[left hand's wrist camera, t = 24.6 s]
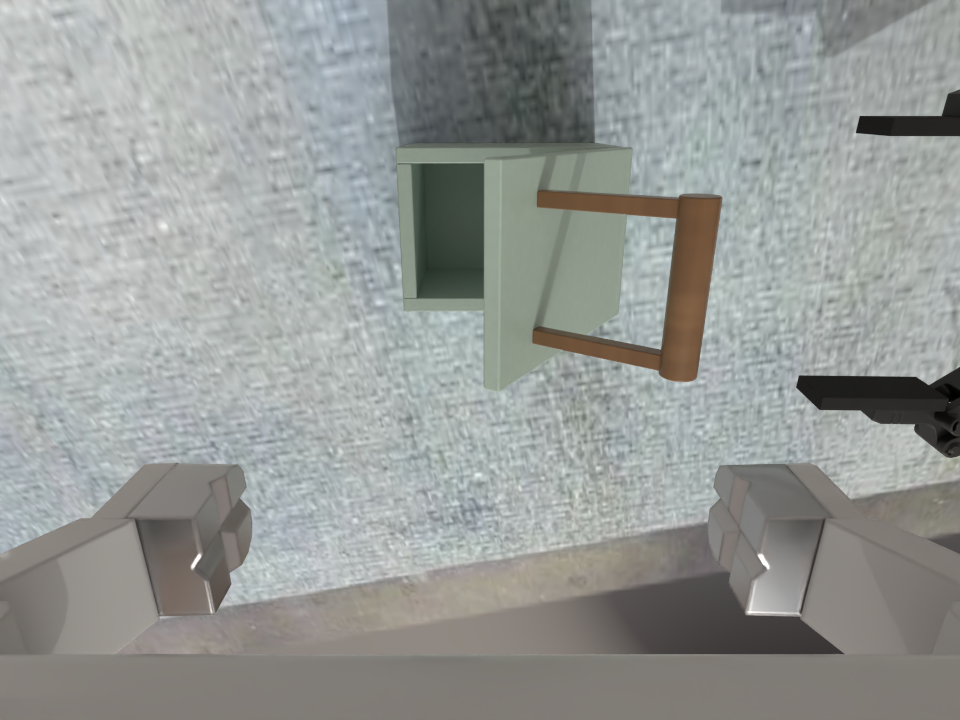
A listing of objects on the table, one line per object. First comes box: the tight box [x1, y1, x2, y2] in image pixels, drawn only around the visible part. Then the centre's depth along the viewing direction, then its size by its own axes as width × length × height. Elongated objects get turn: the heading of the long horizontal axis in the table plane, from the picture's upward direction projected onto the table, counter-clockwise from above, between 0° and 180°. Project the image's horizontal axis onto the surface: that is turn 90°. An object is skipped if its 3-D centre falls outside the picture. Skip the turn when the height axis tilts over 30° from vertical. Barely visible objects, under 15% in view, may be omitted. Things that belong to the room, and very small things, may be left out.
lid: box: [484, 147, 722, 392], centre depth 28 cm, size 14×10×8 cm
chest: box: [396, 143, 619, 311], centre depth 40 cm, size 13×10×9 cm
